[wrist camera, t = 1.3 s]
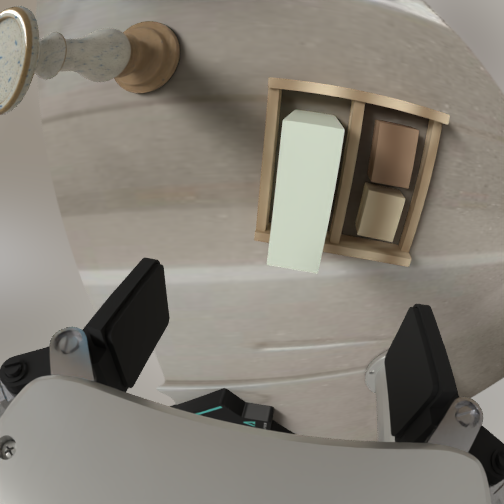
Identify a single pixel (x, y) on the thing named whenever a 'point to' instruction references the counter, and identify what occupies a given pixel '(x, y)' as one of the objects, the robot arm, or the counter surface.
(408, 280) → the counter surface
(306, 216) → the sage panel
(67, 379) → the robot arm
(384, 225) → the pine offcut
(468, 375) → the counter surface
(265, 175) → the oak rack
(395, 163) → the walnut offcut
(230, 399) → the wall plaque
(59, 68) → the candle holder
